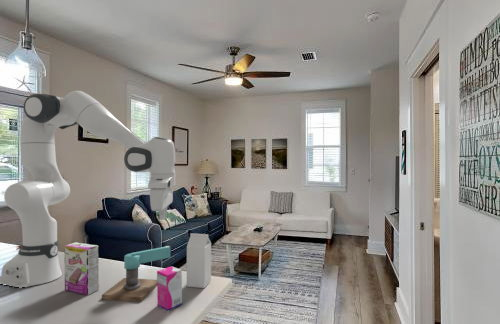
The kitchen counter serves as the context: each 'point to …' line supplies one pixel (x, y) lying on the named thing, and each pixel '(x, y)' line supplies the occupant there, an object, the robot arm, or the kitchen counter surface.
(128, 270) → the tan square panel
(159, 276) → the supplement box
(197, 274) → the milk carton
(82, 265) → the candy bar box
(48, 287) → the kitchen counter surface
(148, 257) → the teal lever handle
